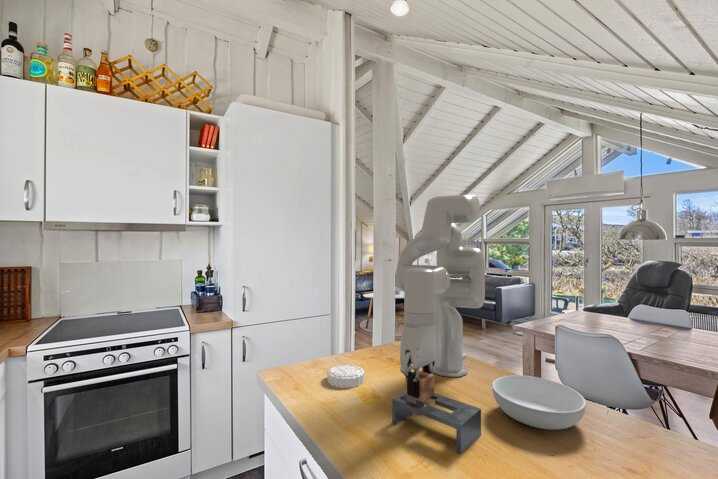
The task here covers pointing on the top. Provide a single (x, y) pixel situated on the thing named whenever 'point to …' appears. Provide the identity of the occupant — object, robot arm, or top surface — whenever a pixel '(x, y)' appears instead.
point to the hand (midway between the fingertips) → (419, 391)
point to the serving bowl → (539, 401)
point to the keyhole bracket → (443, 416)
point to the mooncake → (346, 376)
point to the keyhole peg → (423, 389)
